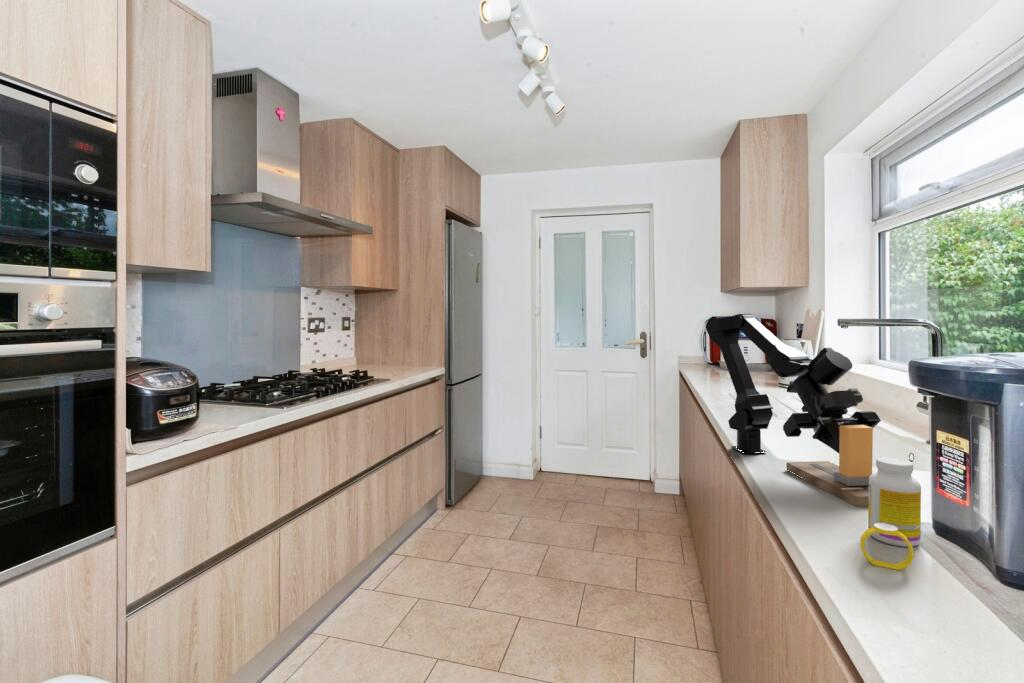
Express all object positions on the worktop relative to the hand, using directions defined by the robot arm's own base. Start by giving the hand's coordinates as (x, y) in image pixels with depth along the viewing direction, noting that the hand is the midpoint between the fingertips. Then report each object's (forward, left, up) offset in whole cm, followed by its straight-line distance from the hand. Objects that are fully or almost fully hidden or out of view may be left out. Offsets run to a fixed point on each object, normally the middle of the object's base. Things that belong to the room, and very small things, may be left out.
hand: (850, 458), depth 99 cm
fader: (+1, 0, -4) cm, 5 cm away
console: (-3, 0, -7) cm, 7 cm away
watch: (+29, -17, -7) cm, 35 cm away
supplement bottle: (+21, -9, -7) cm, 24 cm away
